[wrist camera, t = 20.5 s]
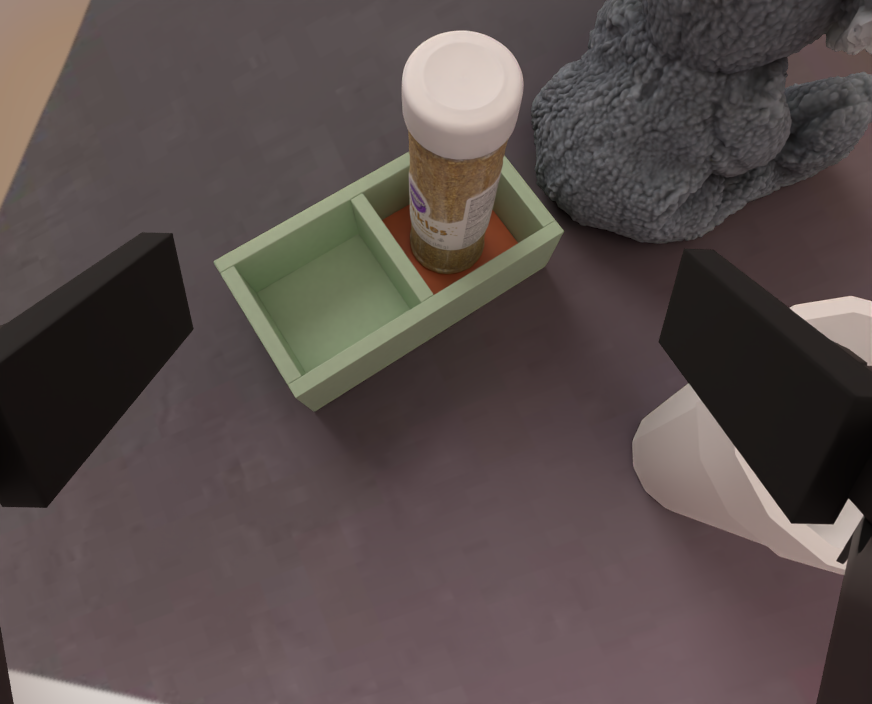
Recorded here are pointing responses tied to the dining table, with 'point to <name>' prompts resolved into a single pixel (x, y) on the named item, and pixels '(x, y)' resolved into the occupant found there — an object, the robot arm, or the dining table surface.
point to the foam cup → (728, 471)
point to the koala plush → (696, 111)
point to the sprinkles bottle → (457, 142)
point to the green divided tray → (373, 279)
